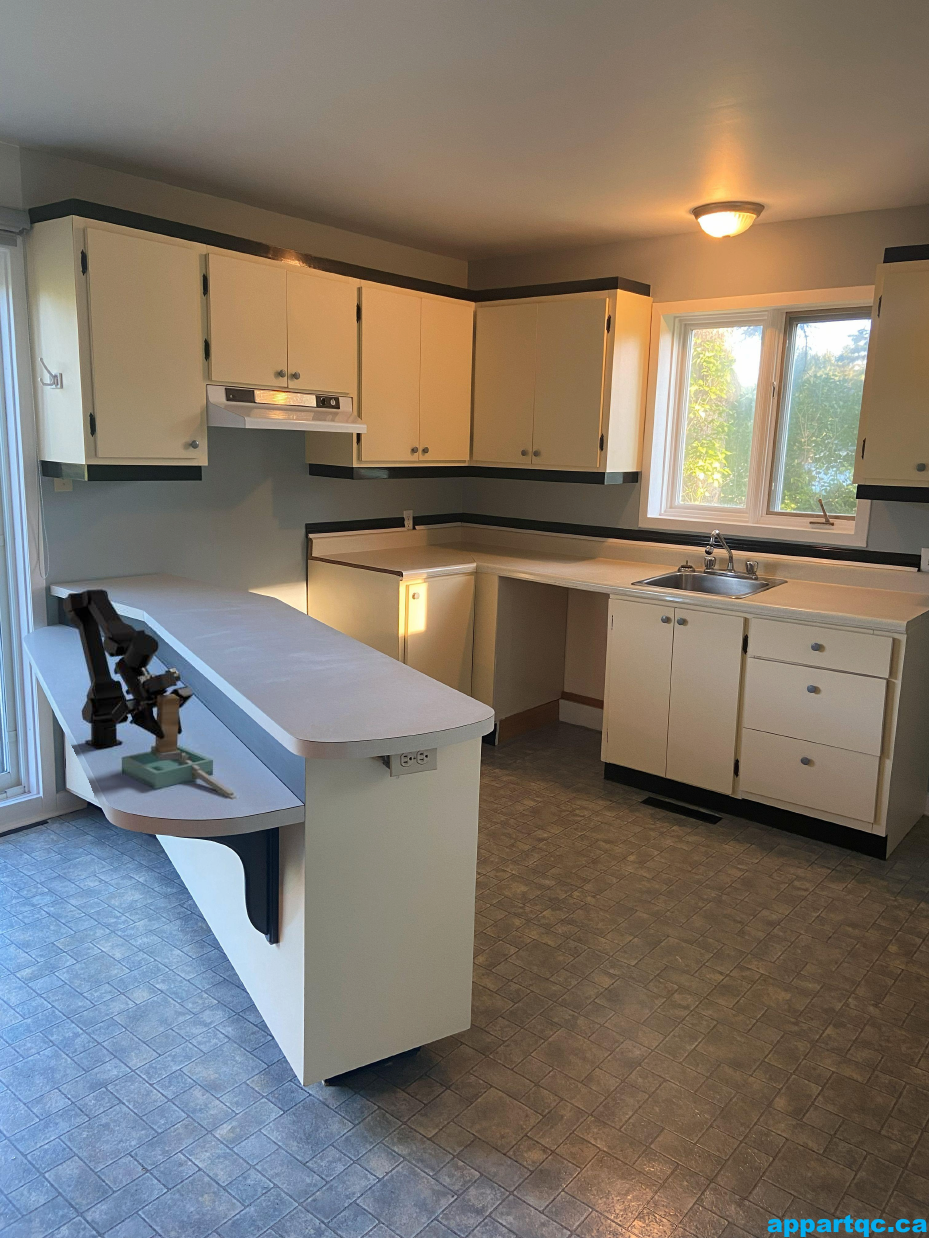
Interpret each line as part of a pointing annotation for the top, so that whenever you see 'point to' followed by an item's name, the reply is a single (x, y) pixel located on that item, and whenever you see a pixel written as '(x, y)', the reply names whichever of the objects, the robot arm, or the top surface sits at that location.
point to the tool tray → (164, 768)
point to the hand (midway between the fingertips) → (171, 735)
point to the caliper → (206, 777)
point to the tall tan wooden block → (167, 728)
